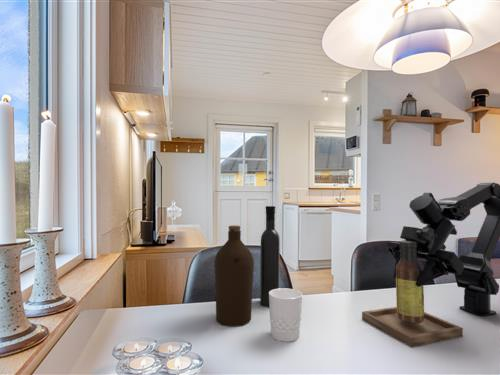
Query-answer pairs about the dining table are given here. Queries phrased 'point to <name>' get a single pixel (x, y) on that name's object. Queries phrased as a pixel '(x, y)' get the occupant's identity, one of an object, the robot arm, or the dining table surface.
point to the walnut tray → (412, 327)
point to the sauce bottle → (409, 284)
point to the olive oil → (233, 281)
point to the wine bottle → (269, 258)
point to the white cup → (285, 314)
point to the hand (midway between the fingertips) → (405, 282)
